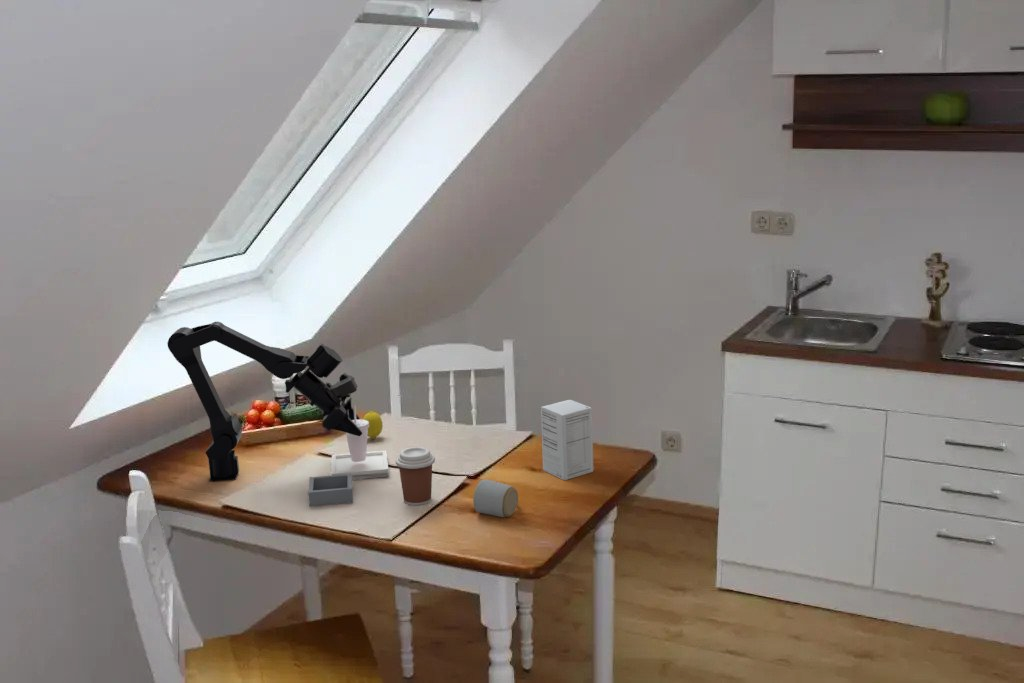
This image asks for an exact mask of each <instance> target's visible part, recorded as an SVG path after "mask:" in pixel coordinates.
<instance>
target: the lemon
mask: <svg viewBox="0 0 1024 683" xmlns="http://www.w3.org/2000/svg"><path fill="white" fill-rule="evenodd" d="M362 420H367V421H368V422H369V427H368V434H367V438H368V437H369V438H371V439H372V440H375V438H377V437H379V435H380V434H381V433H382V431H383V420H382V418H381V416H380V415H379V414H378V413H377V412H375V411H373V410H370V411H369V412H367V413H366V414H365V415H364V416H363V418H362Z"/></svg>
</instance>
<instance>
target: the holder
mask: <svg viewBox="0 0 1024 683" xmlns="http://www.w3.org/2000/svg"><path fill="white" fill-rule="evenodd" d="M308 479H309V480H308V482H309V483H308V492H307V493H308V504H309V507H310V506H311V507H321V506H330V505H331V506H332V505H342V504H343V505H344V504H352V503H354V497H353V496H354V493H353V492H354V491H353V487H354V486H353V480H352V474H341V475H319V476H310V477H309V478H308ZM311 507H310V508H311Z"/></svg>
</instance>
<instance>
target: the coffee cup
mask: <svg viewBox="0 0 1024 683" xmlns="http://www.w3.org/2000/svg"><path fill="white" fill-rule="evenodd" d="M435 461H436V457H435V456H434V455H433V453H431V450H430V449H428V448H426V447H422V446H413V447H407V448H405V449H402V450H401V451H400V452H399V454H398V456H397V457H396V459H395V465H396V466H397V467H398V471H399V476H400V482H401V483H400V484H401V490H402V496H403V497H402V498H403V503H404V504H405V505H408V506H412V505H413V507H414V506H415V507H416V506H418V507H419V506H424V505H427V504H429V503H431V502H432V488H433V487H432V486H433V483H432V482H433V464H435Z"/></svg>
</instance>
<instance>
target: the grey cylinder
mask: <svg viewBox="0 0 1024 683" xmlns="http://www.w3.org/2000/svg"><path fill="white" fill-rule="evenodd" d="M518 504H519V494H518V490H517V489H516V488H515V487H514V486H512V485H510V484H506V483H502V482H498V481H494V480H491V479H488V478H483V479H481V480H480V481H479V482H478V484H477V485H476V486H475V489H474V494H473V508H474V510H475V512H477V513H479V514H485V515H490V516H495V517H500V518H508V517H509V518H510V517H511V516H513V514H514V513H515V511H516V509H517V506H518Z"/></svg>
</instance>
